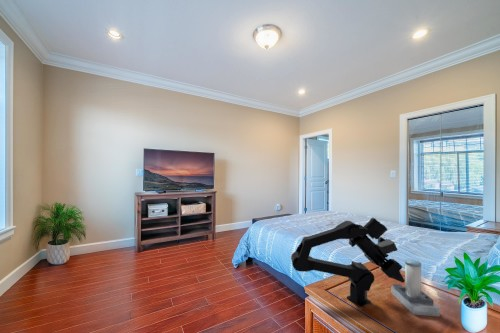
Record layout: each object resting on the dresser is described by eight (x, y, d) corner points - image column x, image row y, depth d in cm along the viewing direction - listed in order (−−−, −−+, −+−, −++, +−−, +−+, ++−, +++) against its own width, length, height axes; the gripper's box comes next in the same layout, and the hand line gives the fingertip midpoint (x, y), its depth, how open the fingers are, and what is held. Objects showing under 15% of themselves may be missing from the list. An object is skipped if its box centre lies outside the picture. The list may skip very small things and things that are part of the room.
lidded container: (410, 299, 82) (410, 264, 82) (402, 291, 87) (402, 258, 87) (425, 300, 81) (424, 265, 82) (415, 292, 86) (415, 259, 87)
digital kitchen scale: (413, 314, 77) (413, 302, 78) (391, 292, 91) (391, 283, 91) (439, 316, 77) (439, 304, 77) (413, 294, 91) (413, 284, 91)
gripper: (396, 240, 77) (429, 273, 75) (371, 227, 95) (397, 253, 94) (373, 261, 77) (405, 294, 76) (353, 244, 96) (378, 270, 94)
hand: (396, 275), depth 85 cm, fingers open, 9 cm apart
